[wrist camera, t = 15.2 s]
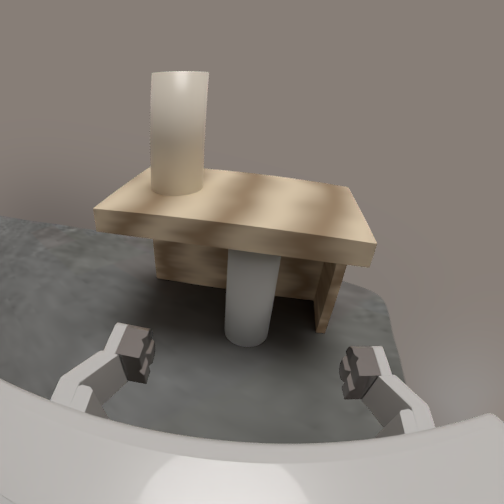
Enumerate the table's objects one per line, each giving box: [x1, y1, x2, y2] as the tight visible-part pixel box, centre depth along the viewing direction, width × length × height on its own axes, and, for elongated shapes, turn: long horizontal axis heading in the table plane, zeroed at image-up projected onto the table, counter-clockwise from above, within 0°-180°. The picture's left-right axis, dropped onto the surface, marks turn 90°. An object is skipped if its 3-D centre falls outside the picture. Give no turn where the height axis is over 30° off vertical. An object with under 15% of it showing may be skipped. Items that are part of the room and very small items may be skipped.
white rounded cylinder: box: [150, 71, 209, 196], centre depth 23 cm, size 5×5×10 cm
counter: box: [93, 167, 377, 333], centre depth 29 cm, size 21×12×14 cm, turn 84°
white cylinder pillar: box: [225, 249, 281, 347], centre depth 29 cm, size 5×5×10 cm
